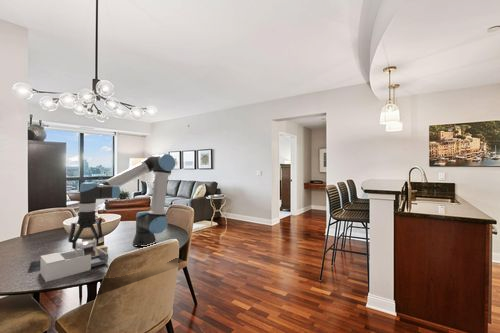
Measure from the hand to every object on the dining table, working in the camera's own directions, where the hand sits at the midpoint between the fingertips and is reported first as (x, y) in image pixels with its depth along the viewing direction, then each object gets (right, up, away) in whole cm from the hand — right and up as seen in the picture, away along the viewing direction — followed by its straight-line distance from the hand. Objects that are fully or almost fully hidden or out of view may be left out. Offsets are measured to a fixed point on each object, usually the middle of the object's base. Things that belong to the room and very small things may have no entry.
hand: (85, 252), depth 126 cm
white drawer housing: (-5, -7, -7) cm, 11 cm away
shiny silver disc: (0, +3, 0) cm, 3 cm away
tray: (0, -7, 0) cm, 7 cm away
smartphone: (-24, -8, -1) cm, 26 cm away
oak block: (-2, -8, +17) cm, 18 cm away
